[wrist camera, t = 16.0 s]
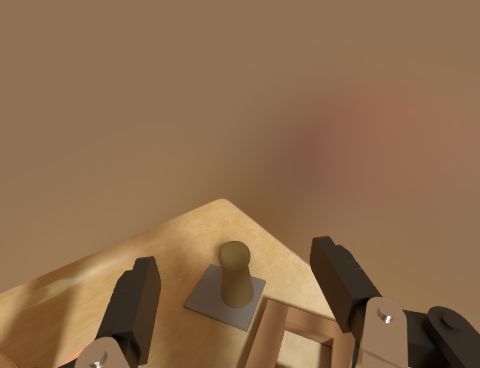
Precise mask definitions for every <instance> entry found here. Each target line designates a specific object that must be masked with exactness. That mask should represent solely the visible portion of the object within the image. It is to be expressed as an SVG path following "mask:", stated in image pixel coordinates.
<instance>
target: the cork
mask: <svg viewBox="0 0 480 368" xmlns="http://www.w3.org/2000/svg"><path fill="white" fill-rule="evenodd" d="M219 261H220V264H221V265H222V267H223V272H222V286H221V298H222V300H223V302H224V303H225V304H226V305H227V306H229V307H232V308H242V307H245V306H246V305H248V304H249V303H250V302H251V301H252V299H253V296H254V290H253V286H252V281H251V277H250V272H249V267H248V264H249V262H250V251H249V248H248V247H247V246H246V245H245V244H244V243H242V242H239V241H231V242H228V243H226V244H225V245H223V246H222V248H221V250H220V252H219Z"/></svg>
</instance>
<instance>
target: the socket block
mask: <svg viewBox="0 0 480 368" xmlns="http://www.w3.org/2000/svg"><path fill="white" fill-rule="evenodd" d="M285 330H287V331H289V332H292V333H295V334H297V335H300V336H303V337H305V338H308V339H311V340H313V341H316V342H319V343H321V344H324V345H327V346H329V347H331V357H330V368H350V363H351V357H352V350H353V344H354V340H355V338H354V336H353V334H352V333H351V332H350V333H344V334H343V333H342V331H341V329H340V327H339V325H338V323H337V322H334V321H331V320H328V319H325V318H322V317H319V316H316V315H313V314H310V313H307V312H304V311H301V310H298V309H296V308H293V307H290V306H287V305H284V304H281V303H278V302H275V301H272V300H269V299H268V302H267V305H266V308H265V311H264V314H263V317H262V320H261V322H260V325H259V328H258V331H257V334H256V337H255V340H254V343H253V346H252V349H251V351H250V354H249V357H248V360H247V363H246V366H245V368H275V367H276V363H277V359H278V355H279V351H280V347H281V343H282V339H283V335H284V331H285Z"/></svg>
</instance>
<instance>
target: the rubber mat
mask: <svg viewBox="0 0 480 368" xmlns="http://www.w3.org/2000/svg"><path fill="white" fill-rule="evenodd" d="M222 272H223V268H222V267H219V266H215V265H212V264H210V266H209V267H208V269H207V270H206V272H205V273H204V275H203V276H202V278H201V279H200V281H199V282H198V284H197V285H196V287H195V289H194V290H193V292H192V293H191V295H190V296H189V298H188V299H187V301H186V302H185V304H184V305H183V306H184V307H186V308H188V309H191V310H193V311H196V312H198V313H201V314H203V315H206V316H208V317H211V318H213V319H216V320H218V321H221V322H223V323H226V324H228V325H231V326H233V327H236V328H238V329H241V330H243V331H246V332H247V330H248V328H249V325H250V323H251V320H252V317H253V315H254V312H255V310H256V307H257V304H258V302H259V299H260V296H261V294H262V291H263V289H264V286H265V283H266V281H264V280H261V279H257V278H254V277H251V276H250V277H251V281H252V286H253V290H254V296H253V299H252V301H251V302H250V303H249V304H248V305H246V306H245V307H242V308H232V307H229V306H227V305H226V304H225V303H224V302H223V300H222V298H221V286H222Z"/></svg>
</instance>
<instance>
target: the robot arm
mask: <svg viewBox="0 0 480 368" xmlns="http://www.w3.org/2000/svg"><path fill="white" fill-rule="evenodd" d="M310 266H311V270H312V272H313V274H314V276H315V278H316V280H317V282H318V284H319V286H320V288H321V290H322V292H323V294H324V296H325V298H326V300H327V302H328V304H329V307H330V309H331V311H332V313H333V315H334V317H335V319H336V321H337V323H338V325H339V327H340V329H341V331H342V333H343V334H344V333H350V332H351V333H352V334H353V336H354V338H355V340H354V344H353V350H352V357H351V363H350V368H408V367H411V368H480V334H479V333H478V332H477V331H476V330H475V329H474V328H473V327H472V326H471V325H470V323H469V322H468V321H467V320H466V319H465V318H463V317H462V316H461V315H460V314H458V313H456V312H455V311H453V310H451V309H448V308H445V307H440V306H438V307H437V306H436V307H432V308H431V309H430V310H429V311H428V313H427V314H425V313H418V312H412V311H407V310H403V309H401V308H400V307H399V306H398V305H397V304H395V303H394V302H393V301H391V300H389V299H386V298H383V297H382V296H381V294H380V293H379V292H378V290H377V289H376V287H375V286H374V285H373V283H372V282H371V281H370V279H369V278H368V276H367V275H366V274H365V272H364V271H363V270H362V269H361V267H360V265H359V264H358V263H357V262H356V260H355V259H354V257H353V256H352V254H351V253H350V252H349V251H348V250H347V249H345V248H344V247H343V246H341V245H335V244H334V242H333V241H332V239H331V238H330V237H329V236H323V237H315V238H313V240H312V246H311V254H310ZM160 290H161V279H160V275H159V271H158V268H157V265H156V261H155V258H154V256H151V257H142V258H137V259H136V261H135V264H134V267H133V270H129V271H125V272H124V273H123V274H122V276H121V277H120V278H119V279H118V281H117V283H116V286H115V288H114V291H113V293H112V296H111V299H110V302H109V304H108V307H107V309H106V312H105V314H104V317H103V320H102V322H101V325H100V328H99V330H98V333H97V335H96V338H95V340H94V341H93V342H92V343H90V344H89V345H88V346H87V347H86V348H84V350H83V351H82V352H81V353H80V355H79V356H78V358H76V359H75V360H73V361H71V362H69V363H67V364H65V365H62V366H60V367H58V368H138V365H145V364H147V361H148V356H149V350H150V345H151V339H152V334H153V328H154V323H155V318H156V312H157V307H158V301H159V296H160ZM0 368H19V367H18V366H17V365H16V364H15V363H14V362H13V361H12V360H11V359H10V358H9V357H8V356H7V355H6V354H5V353H4V352H3V351H2V350H1V349H0Z"/></svg>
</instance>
